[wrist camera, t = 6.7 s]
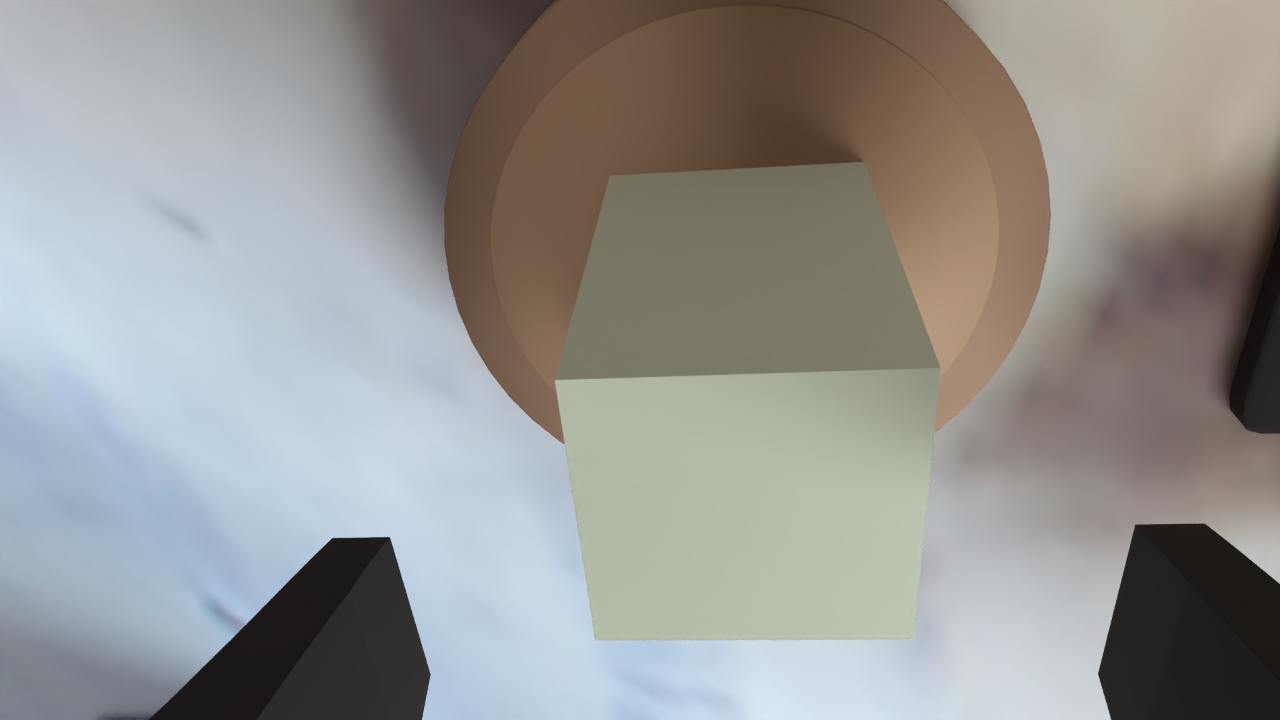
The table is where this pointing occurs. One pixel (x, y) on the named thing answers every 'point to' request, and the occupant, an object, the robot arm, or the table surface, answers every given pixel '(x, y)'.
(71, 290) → the table surface
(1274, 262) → the cell phone
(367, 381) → the table surface
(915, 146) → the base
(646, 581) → the block
